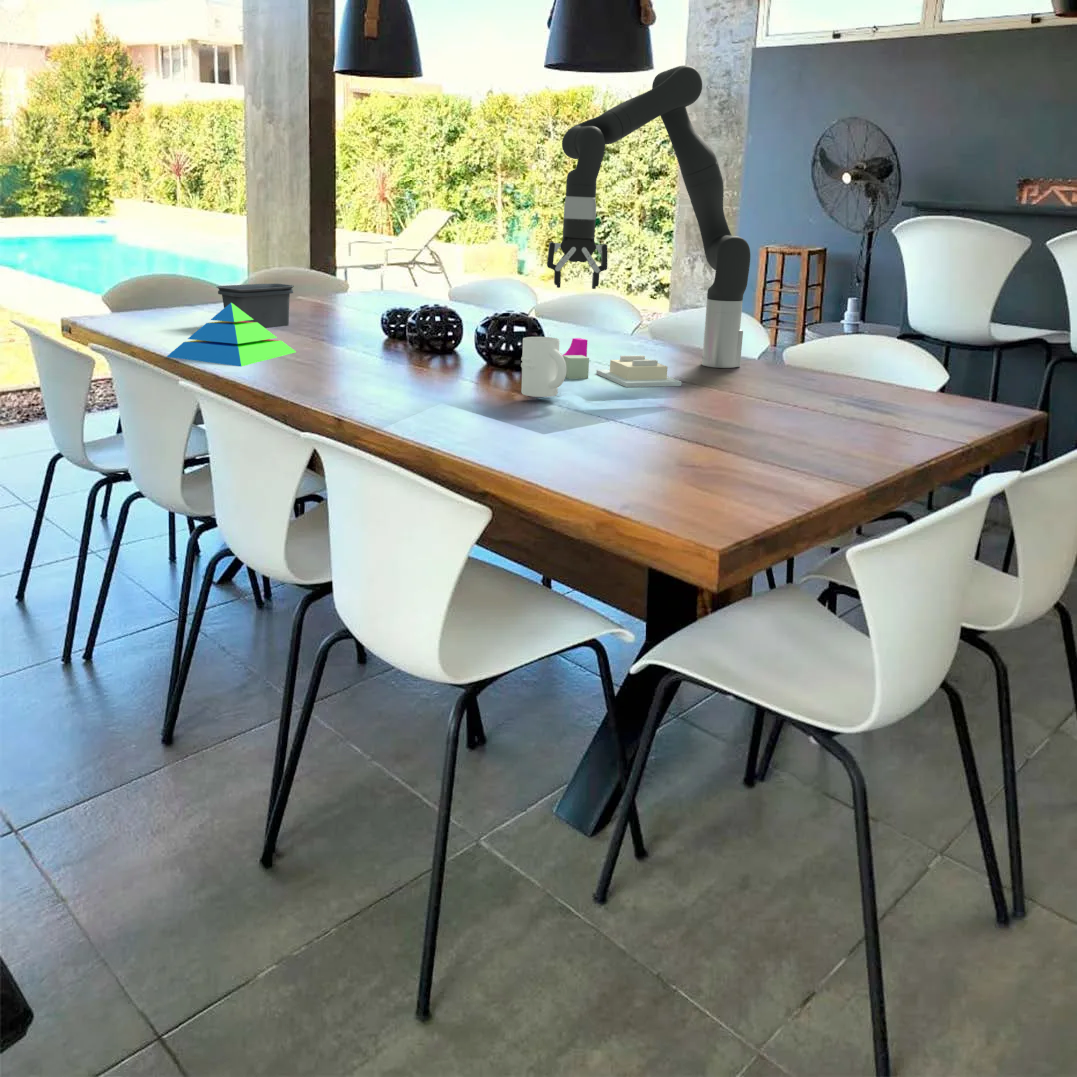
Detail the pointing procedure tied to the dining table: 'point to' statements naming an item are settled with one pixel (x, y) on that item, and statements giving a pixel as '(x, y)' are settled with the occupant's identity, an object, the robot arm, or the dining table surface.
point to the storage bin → (260, 302)
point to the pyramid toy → (231, 341)
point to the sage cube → (576, 366)
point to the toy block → (577, 347)
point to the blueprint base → (638, 382)
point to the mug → (542, 367)
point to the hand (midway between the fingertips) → (576, 288)
